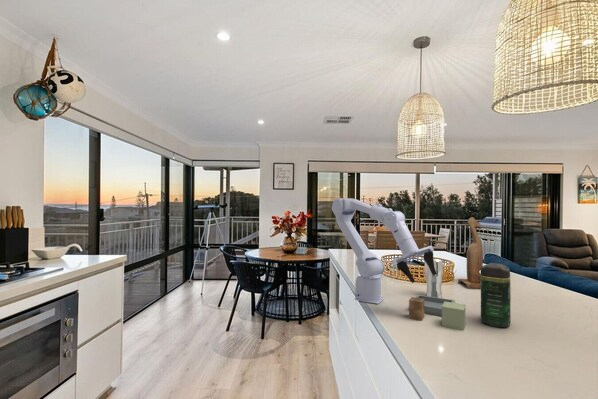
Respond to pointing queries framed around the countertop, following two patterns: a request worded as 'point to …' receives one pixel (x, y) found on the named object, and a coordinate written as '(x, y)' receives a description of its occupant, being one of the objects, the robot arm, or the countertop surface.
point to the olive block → (453, 315)
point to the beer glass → (434, 279)
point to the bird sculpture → (474, 258)
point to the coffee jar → (495, 295)
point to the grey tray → (433, 304)
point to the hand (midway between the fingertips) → (424, 278)
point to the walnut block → (416, 308)
